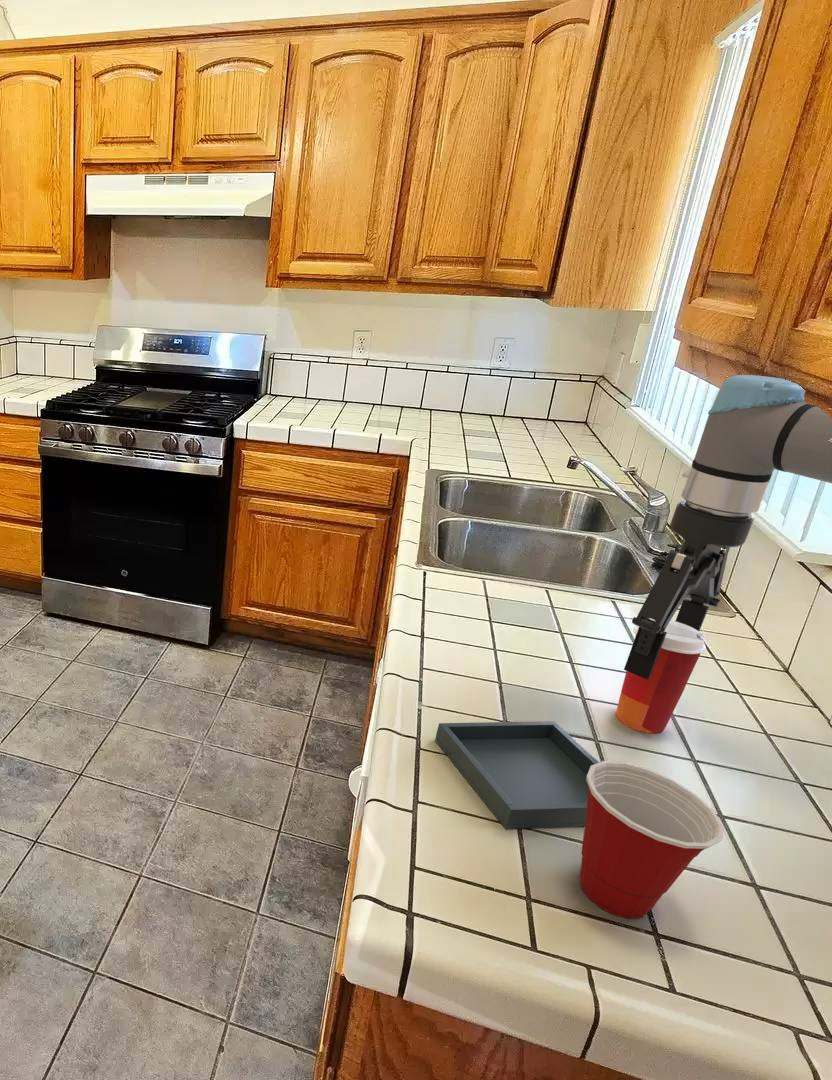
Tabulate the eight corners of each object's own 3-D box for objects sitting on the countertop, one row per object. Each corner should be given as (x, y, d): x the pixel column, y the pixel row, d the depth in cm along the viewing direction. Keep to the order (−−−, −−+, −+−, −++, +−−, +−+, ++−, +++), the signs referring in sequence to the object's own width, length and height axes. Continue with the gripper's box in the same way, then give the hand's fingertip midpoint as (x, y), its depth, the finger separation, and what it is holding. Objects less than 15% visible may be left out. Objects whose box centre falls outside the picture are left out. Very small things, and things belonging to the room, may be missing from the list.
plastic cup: (691, 964, 66) (739, 859, 62) (553, 911, 71) (588, 810, 67) (675, 881, 75) (716, 784, 71) (553, 839, 80) (584, 745, 76)
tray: (638, 824, 83) (645, 805, 82) (505, 829, 81) (511, 810, 80) (549, 737, 97) (554, 720, 96) (434, 740, 96) (438, 722, 95)
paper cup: (673, 718, 103) (707, 627, 98) (675, 746, 97) (711, 650, 92) (606, 698, 107) (636, 610, 102) (604, 724, 101) (635, 631, 96)
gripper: (718, 483, 100) (665, 624, 108) (637, 513, 86) (584, 672, 94) (788, 500, 95) (727, 647, 103) (714, 535, 81) (650, 702, 89)
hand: (658, 659), depth 99 cm, fingers open, 13 cm apart
